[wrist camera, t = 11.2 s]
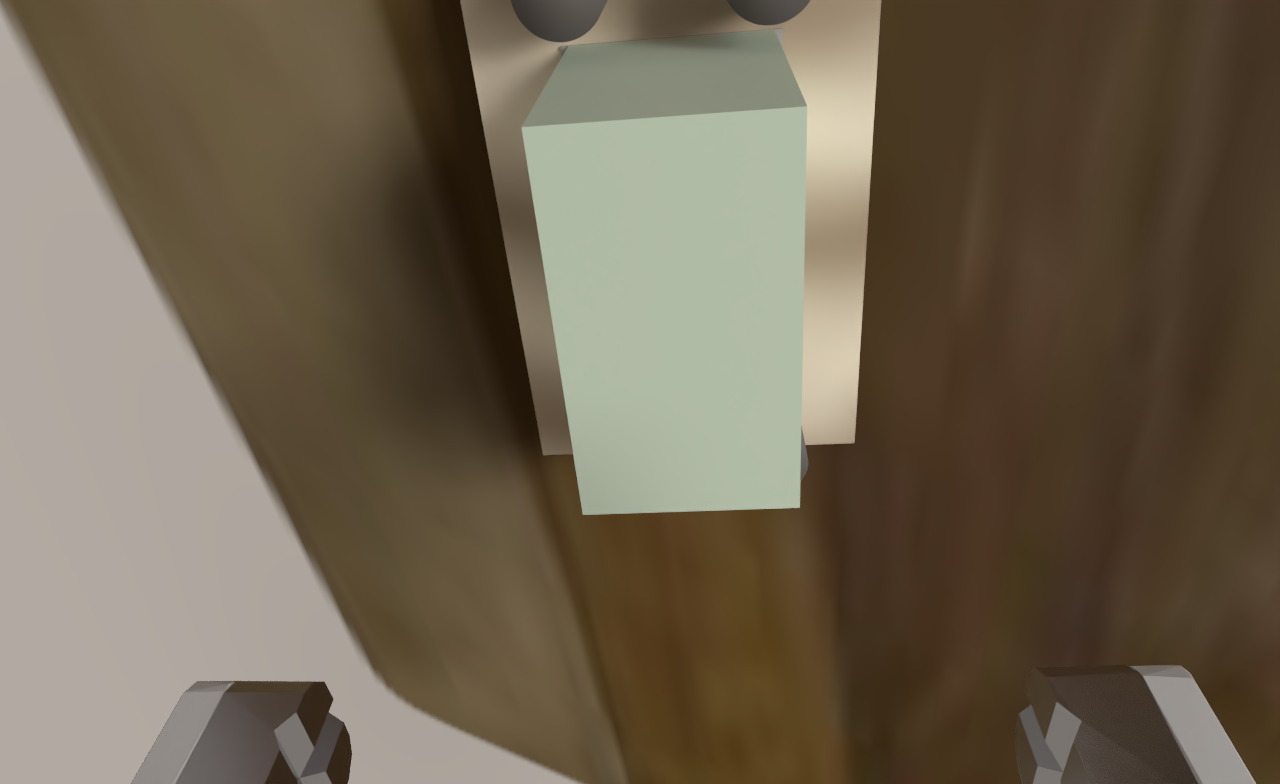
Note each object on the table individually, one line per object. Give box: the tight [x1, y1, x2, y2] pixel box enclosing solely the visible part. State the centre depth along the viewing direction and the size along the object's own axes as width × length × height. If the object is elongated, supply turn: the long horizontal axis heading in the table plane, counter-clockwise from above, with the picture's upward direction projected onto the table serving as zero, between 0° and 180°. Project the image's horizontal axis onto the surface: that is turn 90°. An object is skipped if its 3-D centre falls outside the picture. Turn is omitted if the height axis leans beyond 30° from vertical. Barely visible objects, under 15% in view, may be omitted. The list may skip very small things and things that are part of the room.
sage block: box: [521, 29, 807, 515], centre depth 20 cm, size 9×5×7 cm, turn 5°
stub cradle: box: [460, 0, 881, 481], centre depth 23 cm, size 16×10×4 cm, turn 5°
